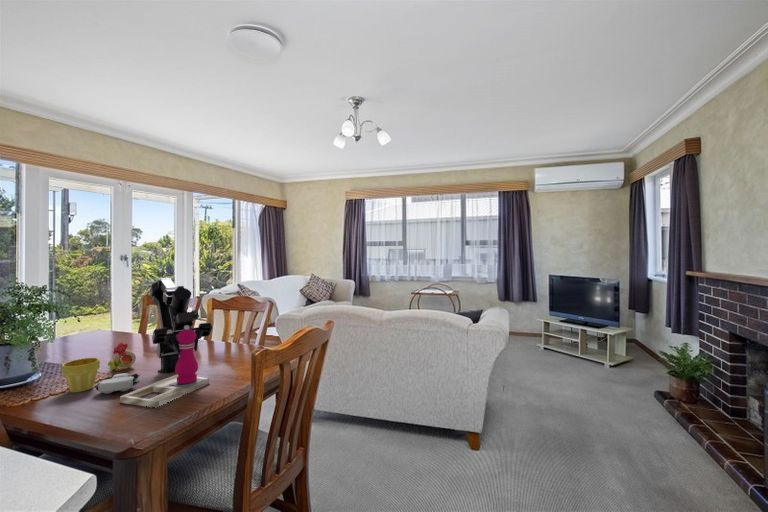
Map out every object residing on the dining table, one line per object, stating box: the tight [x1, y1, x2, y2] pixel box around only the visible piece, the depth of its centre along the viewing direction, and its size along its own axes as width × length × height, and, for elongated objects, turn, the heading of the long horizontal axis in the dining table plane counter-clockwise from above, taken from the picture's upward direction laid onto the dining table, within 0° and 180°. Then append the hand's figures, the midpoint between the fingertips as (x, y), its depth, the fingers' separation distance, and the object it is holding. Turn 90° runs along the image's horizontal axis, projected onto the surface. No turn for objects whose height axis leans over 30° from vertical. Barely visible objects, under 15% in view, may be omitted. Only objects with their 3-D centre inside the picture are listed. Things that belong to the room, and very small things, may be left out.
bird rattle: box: [107, 342, 137, 372], centre depth 153 cm, size 6×11×9 cm
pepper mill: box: [174, 325, 199, 384], centre depth 131 cm, size 7×7×20 cm
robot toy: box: [93, 372, 141, 395], centre depth 131 cm, size 12×4×15 cm
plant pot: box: [61, 357, 101, 393], centre depth 131 cm, size 10×10×10 cm
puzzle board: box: [119, 374, 210, 409], centre depth 127 cm, size 15×22×2 cm
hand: (187, 352), depth 130 cm, fingers closed on pepper mill, 5 cm apart
